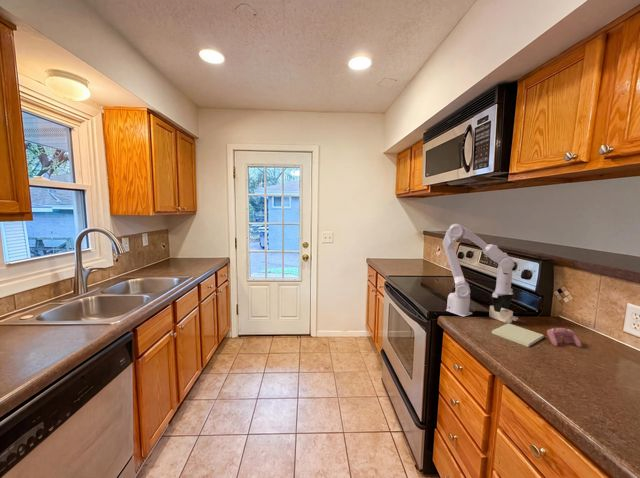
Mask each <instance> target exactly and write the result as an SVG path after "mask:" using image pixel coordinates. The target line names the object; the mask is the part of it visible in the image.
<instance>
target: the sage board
mask: <svg viewBox="0 0 640 478" xmlns="http://www.w3.org/2000/svg"><path fill="white" fill-rule="evenodd" d="M491 334H493V335H494V336H495V335H496V336H498V337H501V338H503V339H506V340H508V341H510V342H514V343H517V344H519V345H522V346H525V347H527V348H529V347H531V346H532V345H534V344H536V343H537V342H539V341H540V340H543V339H544V338H545V337H544V334H542V333H539V332H535V331H533V330H530V329H527V328H524V327H521V326H518V325H514V324H512V323H505V324H503V325H500V326H498V327H497V328H494V329H492V330H491Z"/></svg>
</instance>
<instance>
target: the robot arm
mask: <svg viewBox="0 0 640 478" xmlns="http://www.w3.org/2000/svg"><path fill="white" fill-rule="evenodd" d="M460 238H462V239H467V240H469V241H471V242H472V243H474V245H476V246H478V247H479V248H480V249H482V253H483V255H485V256H486V257H487V258H489V259H490V260H491V261H493V262H494V263H497V265H498V266H497V270H496V280H495V282H496V283H495V289H494V292H492V294H490V295H489V299H491V302H492V306H494V311H496V312H500V310H501V308H504V309H507V310H509V307H510V304H511V302H512V300H513V299H514V298H515V296H516V295H515V294H514V292H513V288H511V287H512V278H513V268H514V267H515V265H516V264H515V261H514V259H513V258H512V257H510V256H509V255H508V253H507V252H503V250H501V249H500V248H499V246H498V245H497V244H493V243H491V244H490V243H489V244H488V243H487V242H485V241H484V240H483V239H482V238H481V237H479V236H478V235H476V234H475V233H474V232H473V231H471V230H470V229H469V228H467V227H465V226H462V224H459V223H452V224H451V225H450V226H449V227H448V228H447V230H446V232H445V235H444V237H443V240H442V247H443V249H444V252H445V255H446V258H447V261H448V264H449V268H450V271H451V273H452V276H453V280H454V288H455V291H454V292H451V293H449V294H448V296H447V302H446V303H447V304H446V309H445V311H446V312H449V313H452V314H455V315H458V316H459V317H464V318H465V317H467V316H470V315H473V312H472V311H470V303H471V295H470V294H471V288H470V284H469V282H468V281H466V279H465V276H464V273H463V270H462V267H461V265H460V264H461V263H460V261H459V258H458V255H457V252H456V249H455V243H456V242H457V240H458V239H460Z"/></svg>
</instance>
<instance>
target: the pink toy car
mask: <svg viewBox="0 0 640 478" xmlns="http://www.w3.org/2000/svg"><path fill="white" fill-rule="evenodd" d="M546 335H547V336H548V338H549V340H550V342H551V344H552V345H553V346H554V347H558V345H559V344H561V343H564V344H571V342H573V344H574V345H575V346H576V347H577V348H582V342H581V340H580V338H579V337H578V336H577V334H576V332H574V331H573V329H569V328H565V327H552V328H550V329H547V331H546ZM560 336H561V337H562V338H561V337H560Z"/></svg>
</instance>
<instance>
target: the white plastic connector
mask: <svg viewBox="0 0 640 478" xmlns="http://www.w3.org/2000/svg"><path fill="white" fill-rule="evenodd" d="M488 312H489V313H488V317H489V318H491V319H495V320H497V321H500V322H503V323H505V324H508V323H509V324H512V323H513V321H514V322H516V321H519V316H514V314H513V313H514V311H513V310H510V309H505V308H502V307H501V310H500V312H496V311H494V306H493V305H489V311H488Z"/></svg>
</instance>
